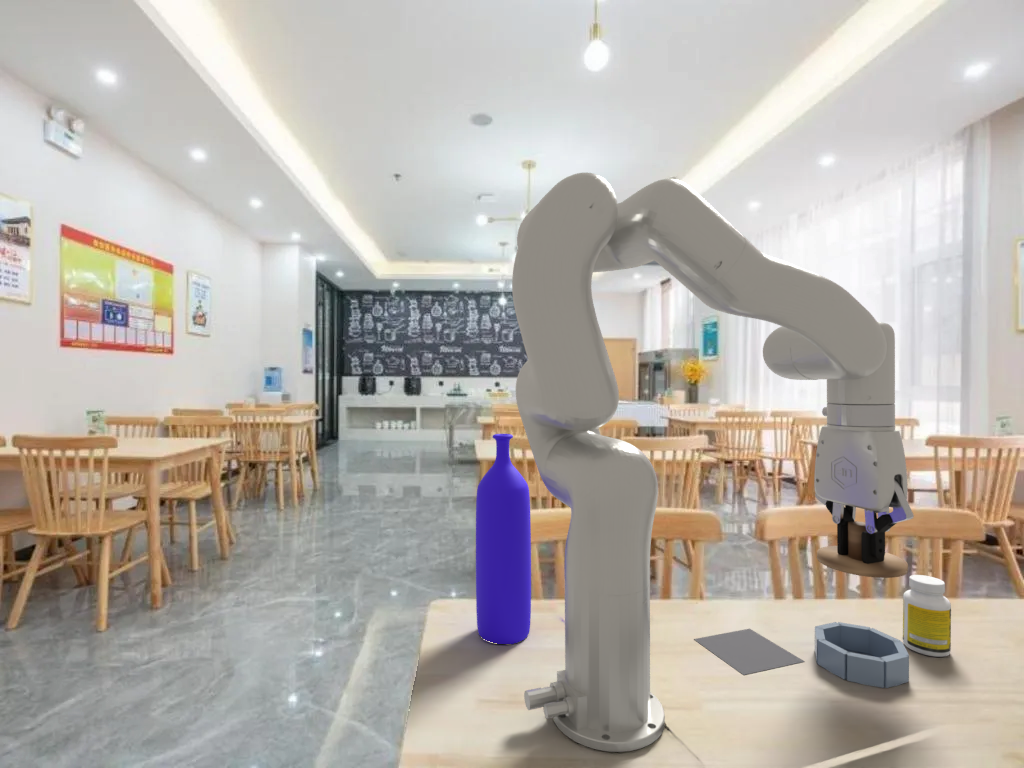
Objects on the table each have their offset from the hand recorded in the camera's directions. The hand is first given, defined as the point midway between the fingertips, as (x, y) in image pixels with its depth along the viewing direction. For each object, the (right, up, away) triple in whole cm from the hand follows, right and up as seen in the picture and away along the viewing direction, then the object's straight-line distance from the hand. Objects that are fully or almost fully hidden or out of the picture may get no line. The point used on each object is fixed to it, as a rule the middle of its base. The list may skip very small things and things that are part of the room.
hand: (860, 556), depth 71 cm
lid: (0, -1, 0) cm, 1 cm away
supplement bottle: (+13, -15, +6) cm, 20 cm away
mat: (-13, -15, +4) cm, 20 cm away
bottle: (-47, -15, +11) cm, 50 cm away
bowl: (0, -15, 0) cm, 15 cm away
